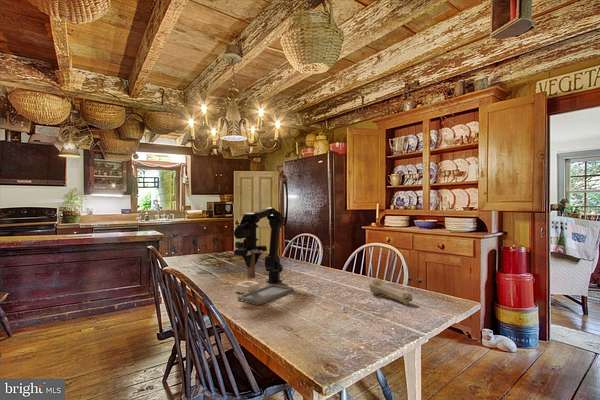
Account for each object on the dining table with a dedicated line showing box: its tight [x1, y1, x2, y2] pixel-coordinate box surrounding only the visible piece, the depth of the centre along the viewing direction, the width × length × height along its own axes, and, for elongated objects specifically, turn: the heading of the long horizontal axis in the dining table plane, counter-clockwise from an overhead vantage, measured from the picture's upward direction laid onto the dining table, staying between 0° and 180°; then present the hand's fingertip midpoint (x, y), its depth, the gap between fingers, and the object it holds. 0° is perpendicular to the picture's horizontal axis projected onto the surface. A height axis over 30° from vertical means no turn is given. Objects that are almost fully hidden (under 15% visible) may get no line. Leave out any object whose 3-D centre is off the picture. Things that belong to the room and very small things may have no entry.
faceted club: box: [368, 277, 413, 305], centre depth 146 cm, size 9×8×25 cm
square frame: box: [234, 280, 261, 294], centre depth 161 cm, size 9×9×4 cm
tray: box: [237, 283, 294, 306], centre depth 154 cm, size 26×14×2 cm, turn 145°
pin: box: [246, 253, 256, 279], centre depth 159 cm, size 4×4×12 cm
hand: (251, 266), depth 159 cm, fingers closed on pin, 4 cm apart
